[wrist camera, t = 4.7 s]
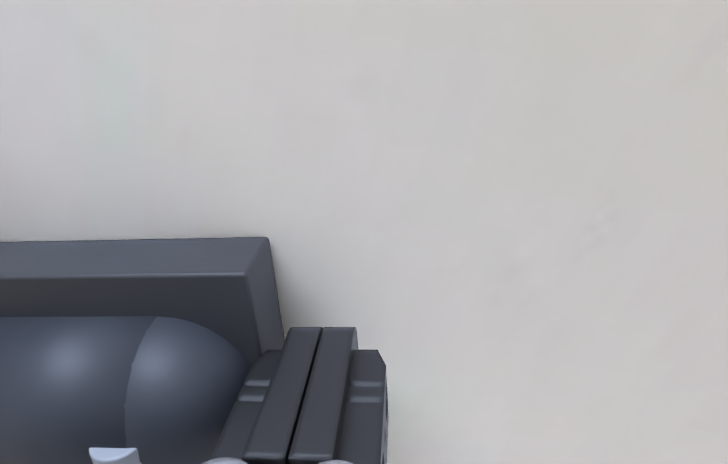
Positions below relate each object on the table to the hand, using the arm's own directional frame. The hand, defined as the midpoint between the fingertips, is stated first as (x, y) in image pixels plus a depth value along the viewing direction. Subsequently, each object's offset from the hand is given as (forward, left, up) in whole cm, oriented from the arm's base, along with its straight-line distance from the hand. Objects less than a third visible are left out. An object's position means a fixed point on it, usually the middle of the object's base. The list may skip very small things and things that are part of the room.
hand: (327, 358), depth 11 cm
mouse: (-5, 0, -1) cm, 5 cm away
